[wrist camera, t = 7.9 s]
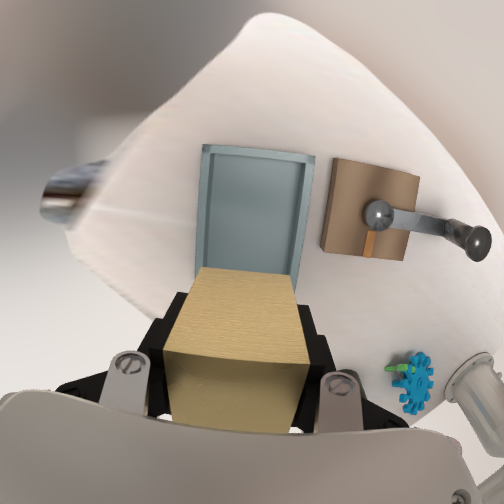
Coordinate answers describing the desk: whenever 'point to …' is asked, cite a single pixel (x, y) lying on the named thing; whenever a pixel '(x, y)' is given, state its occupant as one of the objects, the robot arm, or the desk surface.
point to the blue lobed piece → (414, 382)
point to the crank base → (352, 205)
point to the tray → (252, 209)
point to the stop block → (237, 353)
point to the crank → (429, 227)
